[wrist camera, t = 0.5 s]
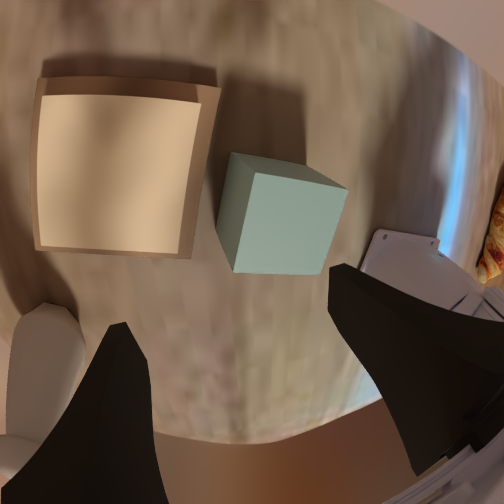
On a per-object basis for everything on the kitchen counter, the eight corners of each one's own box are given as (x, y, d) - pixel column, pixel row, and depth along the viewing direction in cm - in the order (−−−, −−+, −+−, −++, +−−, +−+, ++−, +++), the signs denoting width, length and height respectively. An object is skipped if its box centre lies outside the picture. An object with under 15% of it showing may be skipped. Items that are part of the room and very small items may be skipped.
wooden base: (217, 88, 14) (226, 87, 12) (189, 249, 19) (193, 270, 17) (45, 79, 11) (28, 77, 9) (41, 241, 15) (28, 260, 13)
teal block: (306, 165, 18) (348, 189, 14) (286, 235, 20) (319, 274, 16) (230, 151, 17) (255, 172, 12) (215, 229, 19) (232, 272, 15)
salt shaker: (20, 284, 16) (-38, 448, 5) (91, 301, 18) (70, 483, 8) (28, 340, 18) (-1, 483, 8) (89, 354, 21) (83, 505, 10)
